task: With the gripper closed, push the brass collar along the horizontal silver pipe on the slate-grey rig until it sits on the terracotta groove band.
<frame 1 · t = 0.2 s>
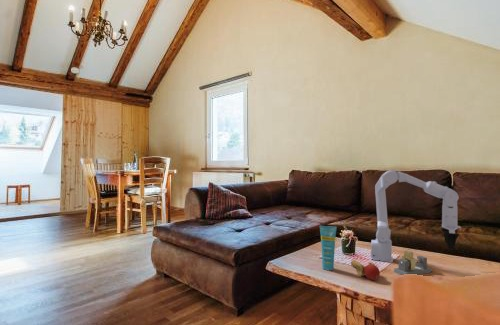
hand: (449, 246, 131), 10 cm above the table, tool pointing down, fingers open, 7 cm apart
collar: (408, 259, 126), point 6 cm above the table, slide at -2.5 cm
kendama: (363, 274, 126), on the table
tube: (328, 269, 131), on the table
pipe rig: (412, 271, 127), on the table
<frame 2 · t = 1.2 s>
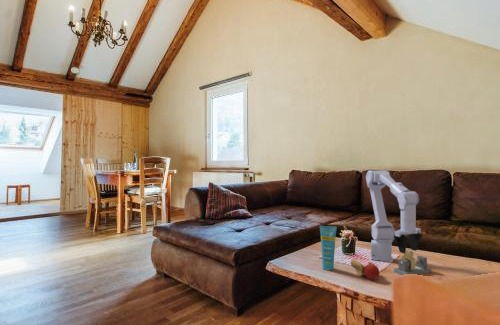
hand: (408, 251, 125), 10 cm above the table, tool pointing down, fingers open, 7 cm apart
nothing on the table moved.
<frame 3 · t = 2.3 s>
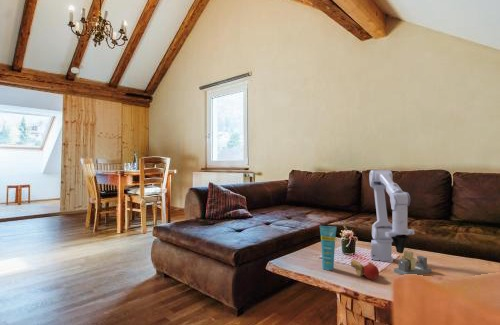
hand: (399, 252, 124), 9 cm above the table, tool pointing down, fingers closed
nothing on the table moved.
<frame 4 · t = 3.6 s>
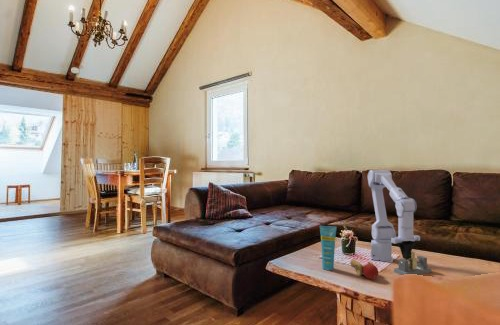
hand: (405, 258, 125), 6 cm above the table, tool pointing down, fingers closed
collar: (410, 259, 126), point 6 cm above the table, slide at -1.6 cm, touching gripper
everything else where it was.
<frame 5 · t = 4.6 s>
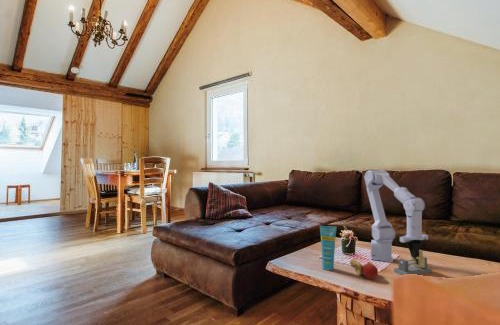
hand: (414, 257, 127), 6 cm above the table, tool pointing down, fingers closed
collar: (417, 258, 128), point 6 cm above the table, slide at 3.1 cm, touching gripper
everything else where it was.
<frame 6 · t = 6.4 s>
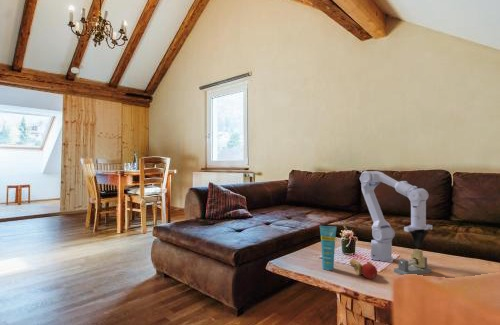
hand: (418, 246, 129), 10 cm above the table, tool pointing down, fingers closed
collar: (417, 258, 128), point 6 cm above the table, slide at 3.1 cm
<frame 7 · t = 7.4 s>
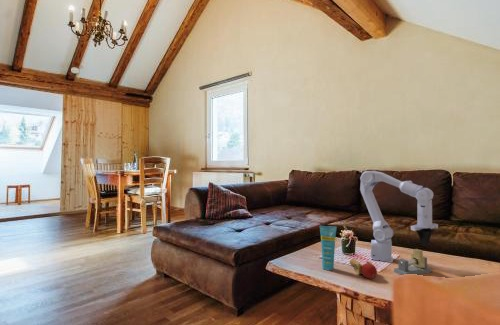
hand: (424, 245, 131), 10 cm above the table, tool pointing down, fingers closed
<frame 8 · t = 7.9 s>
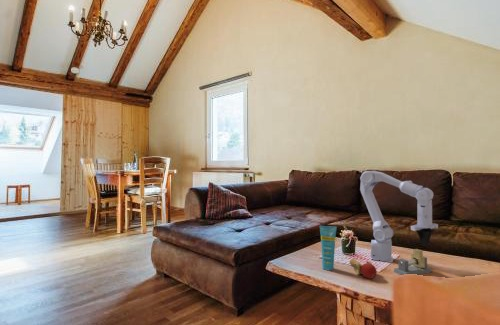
hand: (424, 245, 131), 10 cm above the table, tool pointing down, fingers closed
at the end: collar slide at 3.1 cm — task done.
